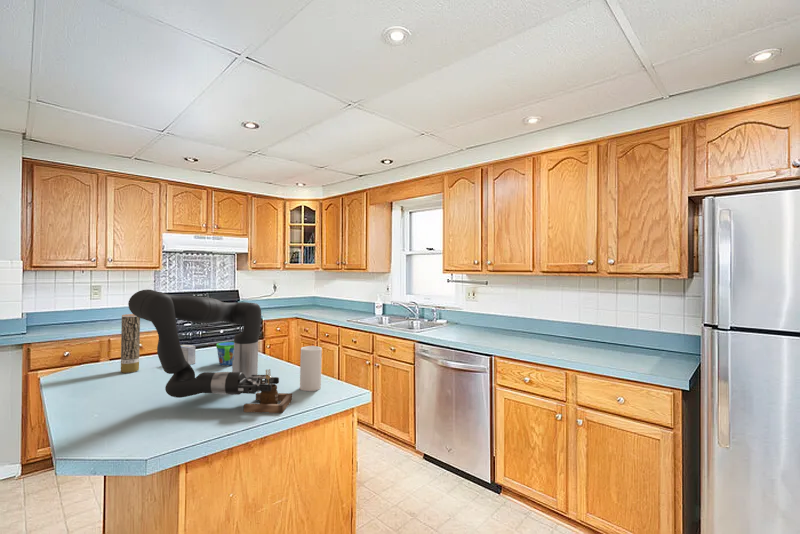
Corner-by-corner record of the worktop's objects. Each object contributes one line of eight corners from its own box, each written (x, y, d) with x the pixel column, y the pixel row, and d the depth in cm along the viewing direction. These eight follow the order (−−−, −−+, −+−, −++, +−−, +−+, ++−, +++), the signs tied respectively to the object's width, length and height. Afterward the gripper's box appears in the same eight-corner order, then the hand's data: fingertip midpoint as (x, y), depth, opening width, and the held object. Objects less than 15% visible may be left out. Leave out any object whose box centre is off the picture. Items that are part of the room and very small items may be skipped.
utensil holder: (261, 410, 137) (262, 374, 137) (258, 404, 143) (259, 370, 143) (279, 407, 140) (280, 372, 140) (275, 401, 146) (276, 368, 146)
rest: (243, 412, 135) (243, 404, 135) (256, 399, 148) (257, 392, 148) (282, 412, 135) (282, 405, 135) (292, 400, 148) (292, 393, 148)
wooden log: (126, 369, 183) (127, 313, 183) (142, 369, 184) (143, 314, 184) (117, 373, 176) (118, 315, 176) (133, 373, 177) (134, 316, 177)
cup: (315, 391, 158) (316, 350, 158) (296, 390, 159) (297, 349, 159) (323, 385, 166) (324, 346, 166) (305, 384, 168) (306, 345, 167)
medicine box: (195, 363, 196) (196, 345, 196) (188, 365, 192) (188, 347, 192) (183, 362, 199) (183, 344, 199) (175, 364, 195) (175, 346, 194)
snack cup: (219, 360, 203) (219, 340, 203) (241, 360, 205) (242, 340, 205) (212, 368, 187) (212, 346, 187) (236, 368, 190) (237, 346, 190)
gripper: (219, 378, 134) (269, 379, 134) (236, 367, 148) (281, 368, 149) (219, 400, 134) (268, 401, 134) (236, 387, 148) (280, 388, 149)
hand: (275, 384), depth 141 cm, fingers open, 8 cm apart
